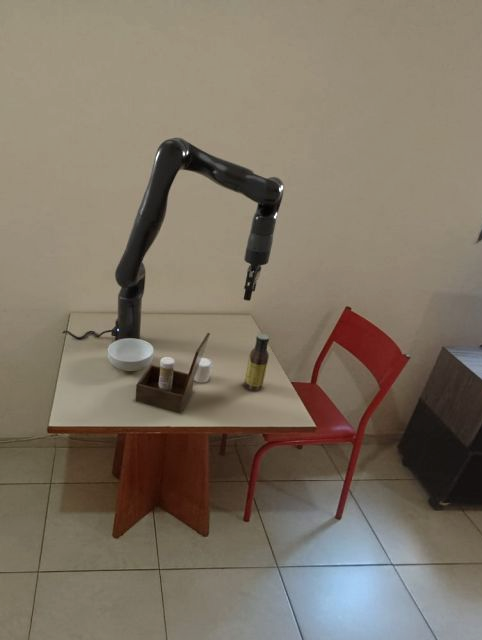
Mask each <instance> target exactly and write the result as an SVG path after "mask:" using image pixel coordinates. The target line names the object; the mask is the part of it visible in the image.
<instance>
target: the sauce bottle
mask: <svg viewBox="0 0 482 640" xmlns="http://www.w3.org/2000/svg"><path fill="white" fill-rule="evenodd" d="M269 342H270V336H269V335H268V334H266V333H258V334H256V337H255V345H254V348H252V350H251V351H250V353H249V357H248V360H247V361H248V362H247V367H246V371H245V378H244V386H245V388H246V389H247V390H250V391H253V392H256V391H257V392H258V391H260V390H261V389H262V388H263V385H264V381H265V377H266V373H267V368H268V363H269V359H270V355H269V352H268V343H269Z"/></svg>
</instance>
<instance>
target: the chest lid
mask: <svg viewBox="0 0 482 640" xmlns="http://www.w3.org/2000/svg"><path fill="white" fill-rule="evenodd" d="M210 336H211V333H210V332H207V333H206V335H205V337H204V338H203V340H202V342H201V343H200V345H198V348H197V349H196V351H195V353H194V356H193V360H192V361H191V365H190V368H189V371H188V373H187V374H188V376H187V379H186V382H185V385H184V388H183V391H182V394H181V395H183V396H184V394H185V392H186V391H187V389H188V387H189V385H190V384H191V382H192V380H193V378H194V377H195V375H196V372H197V369H198V367H199V364H200V361H201V358H202V357H203V355H204V353H205V349H206V347H207V344H208V341H209V339H210Z"/></svg>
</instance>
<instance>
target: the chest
mask: <svg viewBox="0 0 482 640" xmlns="http://www.w3.org/2000/svg"><path fill="white" fill-rule="evenodd" d="M160 367H161V366H160V365H154V364H150V365H149V366H148V368H147V370H146V371H144V374H143V375H142V376H141V377H140V379H139V380H138V381H137V383H136V386H135V402H138V403H141V404H144V405H148V406H152V407H155V408H159V409H163V410H166V411H170V412H174V413H177V414H182V411H183V409H184V407H185V405H186V403H187V402H188V400H189V398H190V396H191V395H192V393H193V388H194V378H193V380H192V382H191V384H190V385H189V387H188V389H187V391H186V392H185V394H184V396H183V395H181V394H182V391H183V388H184V385H185V382H186V379H187V376H188V374H189V373H186V372H183V371H178V370H175V369H173V380H172V388H171V392H168V391H164V390H161V389H159V377H160Z"/></svg>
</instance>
